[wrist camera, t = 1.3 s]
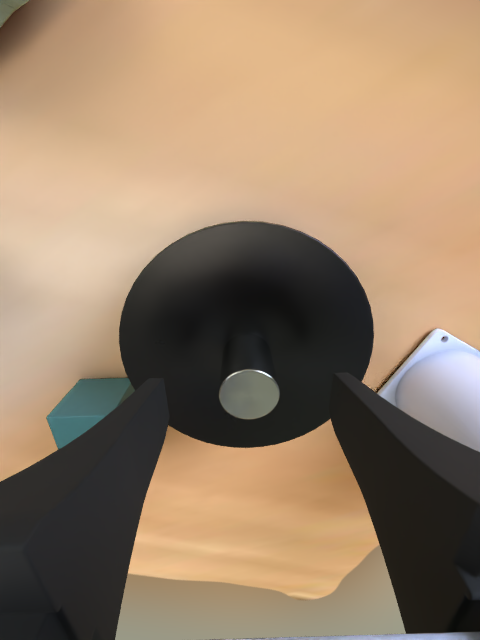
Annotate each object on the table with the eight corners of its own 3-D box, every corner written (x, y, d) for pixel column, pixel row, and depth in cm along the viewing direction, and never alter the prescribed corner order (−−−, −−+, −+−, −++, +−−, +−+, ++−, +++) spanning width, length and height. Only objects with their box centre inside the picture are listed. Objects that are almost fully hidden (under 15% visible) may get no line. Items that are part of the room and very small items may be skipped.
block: (134, 377, 23) (111, 415, 19) (143, 419, 24) (124, 463, 20) (79, 378, 23) (45, 417, 19) (92, 421, 24) (63, 465, 20)
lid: (416, 299, 15) (486, 337, 11) (283, 460, 20) (296, 531, 15) (186, 162, 13) (160, 142, 8) (95, 385, 17) (48, 445, 13)
